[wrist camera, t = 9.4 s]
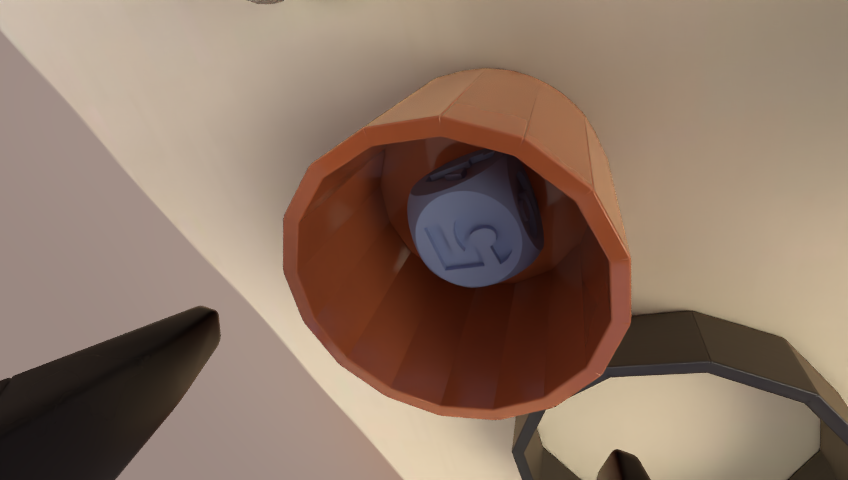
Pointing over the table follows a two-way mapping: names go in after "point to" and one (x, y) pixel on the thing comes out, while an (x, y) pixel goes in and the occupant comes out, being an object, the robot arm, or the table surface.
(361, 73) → the table surface
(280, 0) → the ceramic mug
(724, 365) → the dark grey ring
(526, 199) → the decorative dice
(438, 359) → the terracotta cup
